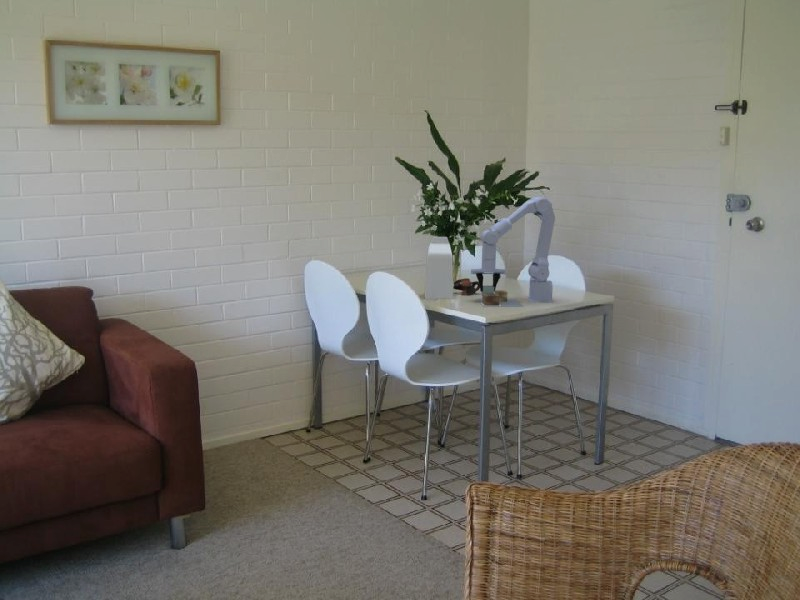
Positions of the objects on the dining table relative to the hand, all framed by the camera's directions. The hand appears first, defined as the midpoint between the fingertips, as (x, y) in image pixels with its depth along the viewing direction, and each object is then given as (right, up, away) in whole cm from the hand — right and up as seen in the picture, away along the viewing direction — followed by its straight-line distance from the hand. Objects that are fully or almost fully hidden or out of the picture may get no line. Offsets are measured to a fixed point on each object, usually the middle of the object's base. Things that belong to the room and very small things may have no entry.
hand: (487, 291), depth 374 cm
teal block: (0, -2, 0) cm, 2 cm away
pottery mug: (-7, -2, +19) cm, 21 cm away
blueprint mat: (+5, -5, -3) cm, 8 cm away
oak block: (+6, -4, +3) cm, 7 cm away
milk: (-20, -3, +12) cm, 23 cm away
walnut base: (+1, -5, -7) cm, 9 cm away
